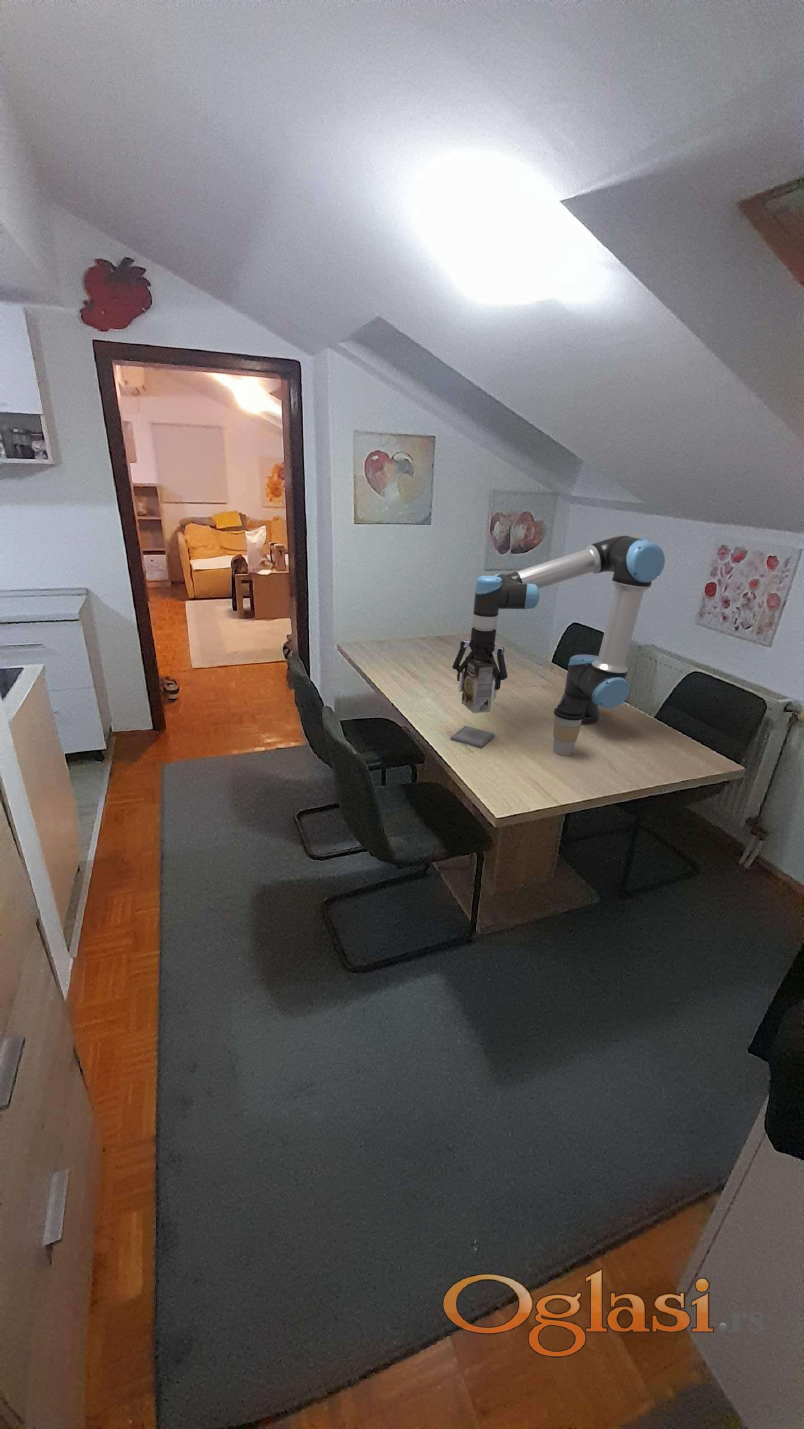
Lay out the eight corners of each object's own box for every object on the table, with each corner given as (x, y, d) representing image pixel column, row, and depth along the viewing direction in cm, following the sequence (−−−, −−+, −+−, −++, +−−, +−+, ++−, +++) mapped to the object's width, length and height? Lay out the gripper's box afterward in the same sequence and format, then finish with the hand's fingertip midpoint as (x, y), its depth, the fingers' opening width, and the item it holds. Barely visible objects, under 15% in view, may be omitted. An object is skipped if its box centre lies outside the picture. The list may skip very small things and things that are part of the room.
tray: (494, 736, 196) (494, 733, 196) (481, 748, 187) (481, 745, 187) (464, 728, 201) (465, 725, 201) (450, 739, 192) (450, 736, 192)
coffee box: (460, 703, 193) (464, 656, 186) (477, 701, 195) (482, 654, 189) (473, 713, 185) (478, 665, 179) (491, 711, 187) (496, 663, 181)
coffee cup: (555, 742, 194) (562, 700, 188) (582, 751, 189) (590, 708, 183) (542, 751, 187) (549, 708, 181) (570, 761, 182) (578, 717, 176)
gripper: (524, 631, 177) (515, 699, 186) (455, 619, 188) (449, 683, 196) (515, 637, 171) (506, 706, 180) (445, 623, 182) (439, 690, 190)
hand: (476, 694), depth 188 cm, fingers closed on coffee box, 10 cm apart
